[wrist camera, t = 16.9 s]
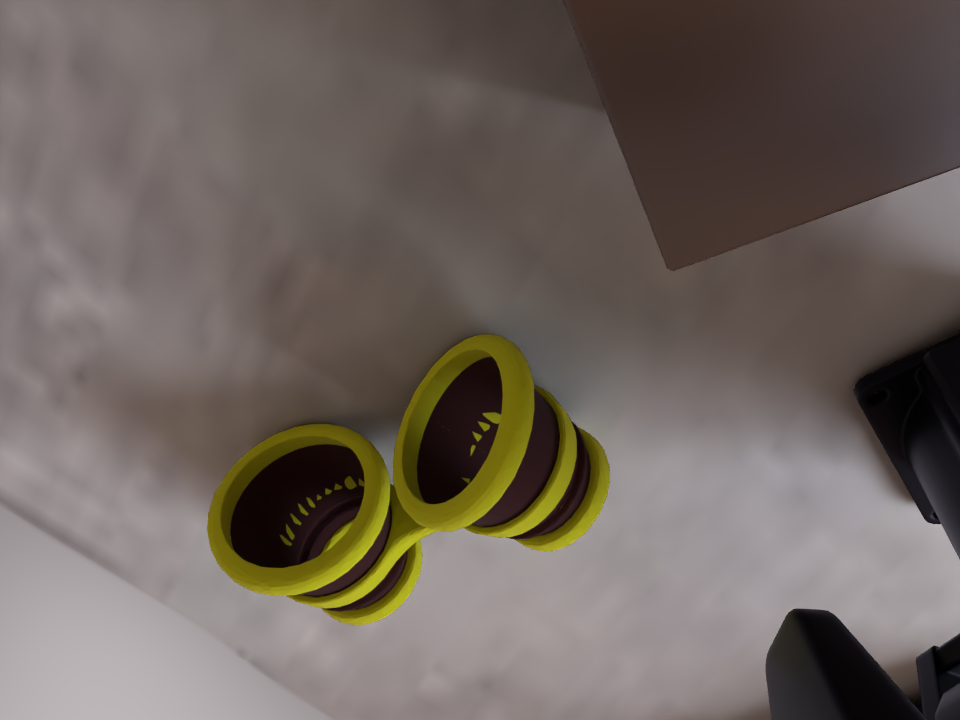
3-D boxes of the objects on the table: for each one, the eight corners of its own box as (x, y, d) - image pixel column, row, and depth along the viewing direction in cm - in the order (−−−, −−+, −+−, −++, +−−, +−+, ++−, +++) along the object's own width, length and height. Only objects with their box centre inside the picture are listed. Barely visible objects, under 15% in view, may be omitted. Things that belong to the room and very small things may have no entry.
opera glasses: (329, 519, 29) (329, 671, 26) (210, 442, 26) (192, 607, 22) (601, 398, 26) (639, 553, 23) (508, 291, 22) (538, 456, 19)
